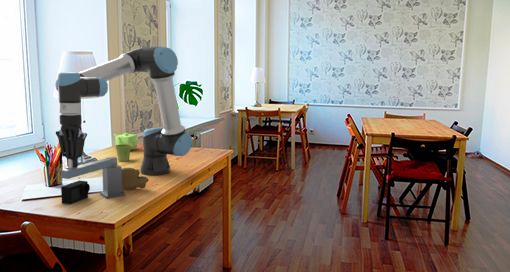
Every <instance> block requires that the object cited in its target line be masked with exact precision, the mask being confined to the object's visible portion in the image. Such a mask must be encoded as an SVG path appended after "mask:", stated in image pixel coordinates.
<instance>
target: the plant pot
mask: <svg viewBox="0 0 510 272" xmlns="http://www.w3.org/2000/svg"><path fill="white" fill-rule="evenodd" d="M114 147H115V150H116V155H117V156H116V157H117V162H118V161H119V162H128V161H130V157H131V151H132V150H131V147H132V145H130V144H119V145H116V144H115V145H114Z"/></svg>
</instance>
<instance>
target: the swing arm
mask: <svg viewBox="0 0 510 272" xmlns="http://www.w3.org/2000/svg"><path fill="white" fill-rule="evenodd" d="M116 165H118V156H107V157H106V158H102V159H98V160H95V161H91V162H87V163H82V164H78V167H72V168H65V169H62V170H61V179H65V180H70V179H74V178H76V177H80V176H83V175H87V174H90V173H93V172H97V171H101V170H102V169H104V168H107V167H111V166H116Z"/></svg>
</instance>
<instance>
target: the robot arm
mask: <svg viewBox="0 0 510 272" xmlns="http://www.w3.org/2000/svg"><path fill="white" fill-rule="evenodd" d="M178 66H179V61H178V56H177V55H176V53H175V51H174V50H173V49H171V48H169V47H166V46H142V47H138V48H135V49H132V50H130V51H127V52H124V53H122V54H120V55H119V57H116V58H115V59H112V60H109V61H106V62H103V63H101V64H98V65H96V66H92V67H90V68H88V69H85V70H82V71H79V72H74V71H73V72H69V71H67V72H65V71H64V72H63V71H62V72H61V71H60V72H59V73H58V74H57V79H56V80H55V85H54V86H55V89H56V91H57V92H58V106H59V107H58V108H59V114H60V115H59V125H60V130H59V129H58V131H55V135H56V136H57V140H58V144H59V148H60V152H61V155H62V157H63V158H64V157H65V158H66V165H67V167H68V168H72V167H78V166H79V164H78V163H79V162H78V161H79V158H82V157H83V154H84V147H85V141H86V139H87V137H88V133H87V132H83V129H82V127H81V126H82V125H81V124H82V123H83V122H82V114H81V113H82V101H81V100H82V98H94V97H95V98H100V97H104V96H106V94H107V93H108V91H109V87H108V86H109V84H108V81H110V80H113V79H115V78H118V77H121V76H123V75H125V74H126V75H127V74H128V75H131V74H134V73H141V72H142V73H143V72H144V73H148V75H149V79H150V80H152V82H153V83H154V89H155V93H156V98H157V102H158V107H159V112H160V117H161V123H162V127H161V126H160V127H152V128H151V127H150V128H146V129H145V130H143V135H142V138H143V139H142V142H143V145H142V146H143V160H142V162H141V164H140V165H141V166H140V169H139V172H140V174H142V175H146V176H160V175H161V176H162V175H166V174H170V172H171V166H170V163H169V160H168V157H167V156H168V155H169V156H170V155H171V156H174V157H184V156H186V155H188V153H190V151H191V148H192V145H193V137H192V136H191V134H189V133H187V131H186V128H185V126H184V125H183V124H182V123H181V117H180V113H179V112H180V111H179V106H178V102H177V95H176V92H175V86H174V80H173V78H174V76H175V74H176V70H177V69H178ZM68 168H67V169H68Z"/></svg>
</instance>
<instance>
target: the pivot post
mask: <svg viewBox="0 0 510 272" xmlns="http://www.w3.org/2000/svg"><path fill="white" fill-rule="evenodd" d="M101 170H102V190H101V191H99V194H100V195H101V196H103V197H104V198H105V199H111V198H112V199H113V198H118V197H123V196H124V197H125V196H126V192H124V191H123V189H122V166H121V165H120V164H117V165H116V166H111V167H107V168H104V169H101Z"/></svg>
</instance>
